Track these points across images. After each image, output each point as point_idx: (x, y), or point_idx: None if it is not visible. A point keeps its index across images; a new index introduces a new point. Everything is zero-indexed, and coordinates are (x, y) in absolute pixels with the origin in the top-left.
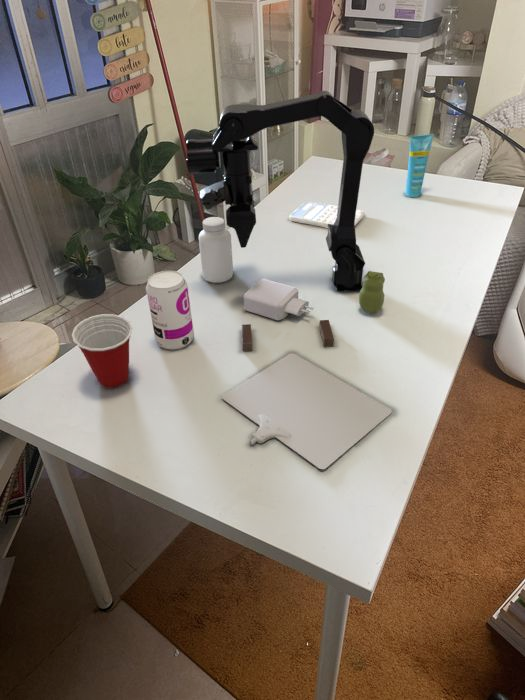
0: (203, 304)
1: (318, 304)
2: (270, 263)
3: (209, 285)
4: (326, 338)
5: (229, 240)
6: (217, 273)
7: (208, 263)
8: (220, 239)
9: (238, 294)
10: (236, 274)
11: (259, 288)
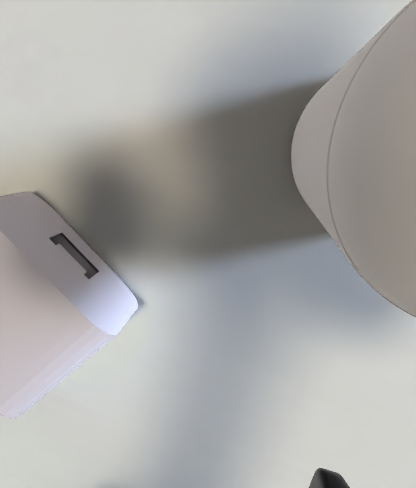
0: (129, 24)
1: (37, 426)
2: (375, 403)
3: (292, 87)
4: None
5: (375, 288)
6: (297, 134)
7: (336, 73)
8: (347, 195)
9: (167, 202)
10: None
11: (12, 287)
